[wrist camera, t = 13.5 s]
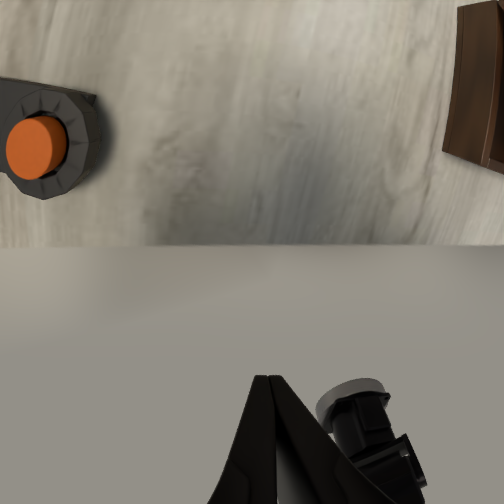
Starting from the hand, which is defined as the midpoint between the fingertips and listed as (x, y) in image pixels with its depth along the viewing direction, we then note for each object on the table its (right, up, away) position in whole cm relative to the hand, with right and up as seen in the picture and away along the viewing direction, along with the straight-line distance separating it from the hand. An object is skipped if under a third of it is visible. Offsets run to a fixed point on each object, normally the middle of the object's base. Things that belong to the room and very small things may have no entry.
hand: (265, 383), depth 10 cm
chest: (+17, +16, +7) cm, 25 cm away
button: (-12, +10, +5) cm, 16 cm away
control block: (-19, +13, +5) cm, 24 cm away
